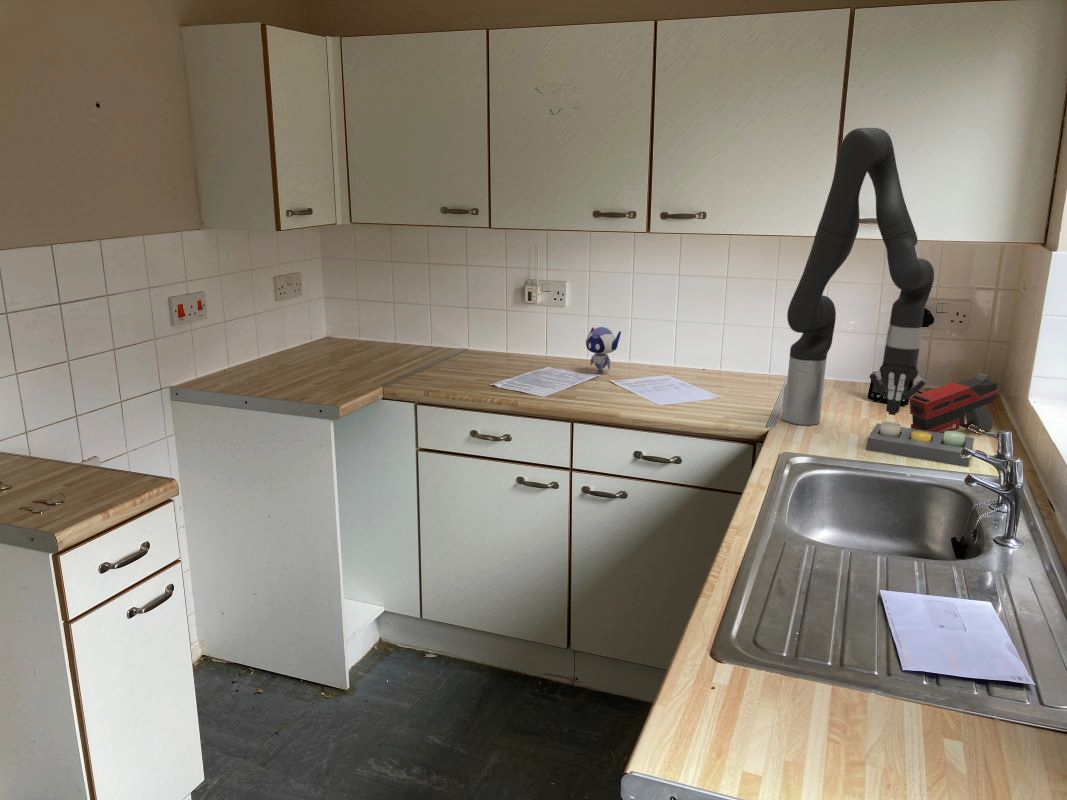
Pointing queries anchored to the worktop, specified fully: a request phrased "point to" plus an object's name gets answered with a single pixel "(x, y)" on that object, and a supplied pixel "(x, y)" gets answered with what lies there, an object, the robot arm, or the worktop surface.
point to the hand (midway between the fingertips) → (892, 414)
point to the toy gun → (955, 406)
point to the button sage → (953, 438)
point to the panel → (918, 446)
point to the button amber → (921, 436)
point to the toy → (601, 346)
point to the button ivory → (890, 428)
